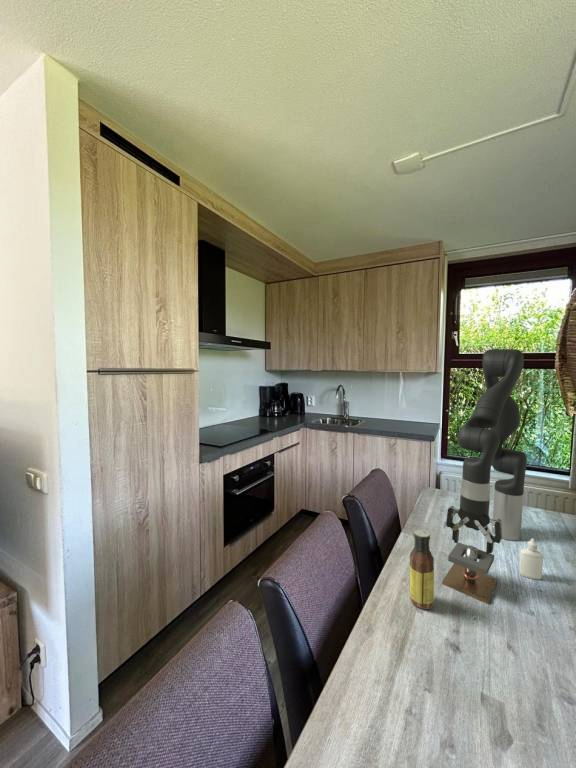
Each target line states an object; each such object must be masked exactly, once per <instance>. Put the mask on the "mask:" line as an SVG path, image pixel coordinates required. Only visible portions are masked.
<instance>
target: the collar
mask: <svg viewBox="0 0 576 768" xmlns="http://www.w3.org/2000/svg"><path fill="white" fill-rule="evenodd" d="M466 546H468V544H467V545H466V544H464V543H461V542H459V541H458V543H455V545H454V547H453V549H452V550H451V551H450V553H449V554H448V556H447V561H448V562H450V563H452V564H454V563H455V564H457V565H460V566H462V567H465V568H467V569H470V570H472V571H475V572H478V573H480V574H483V575H485V576H488V573H489V571H491V570H490V569H491V567H492V565H493V563H494V561H495V554H492V553H490V554H489V555H488V554H486V551H484V550H481V549H479V548H477V549H478V551H477V561H474V560H471V559H469V558H466V556H465V555H466Z"/></svg>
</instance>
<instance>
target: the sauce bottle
mask: <svg viewBox="0 0 576 768" xmlns="http://www.w3.org/2000/svg"><path fill="white" fill-rule="evenodd" d="M413 537H414V538H413V539H414V543H413V544H414V546H413V549H412V550H411V551H410V553H409V599H410V601H411V603H412V604H413V605H414V606H415V607H417V608H419V609H421V610H429V609H432V608H433V606H434V600H435V568H434V563H435V562H434V561H435V560H434V556H433V554H432V552H431V550H430V540H431V535H430V532H429V531H428V530H427V531H426V530H424V529H415V530H414V531H413Z"/></svg>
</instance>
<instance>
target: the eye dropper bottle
mask: <svg viewBox="0 0 576 768" xmlns="http://www.w3.org/2000/svg"><path fill="white" fill-rule="evenodd" d="M519 553H520V554H519V564H518V565H519V567H518V572H519V574H520V575H521V576H522V577H525V578H527V579H531V580H535V581H536V580H542V578H543V564H544V555H543V554H542V553H541V551H538V544H537V542H535V539H534V538H532V537H531V539H530V540H529V541H527V544H526V548H521V549H520V552H519Z"/></svg>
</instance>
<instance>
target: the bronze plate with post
mask: <svg viewBox="0 0 576 768" xmlns="http://www.w3.org/2000/svg"><path fill="white" fill-rule="evenodd" d="M478 549H479V548H477V547H476V546H474V545H468V544H467V546H466V554H465V557H466V558H469V559H471V560H474V561H477V562H478V559H477V551H478ZM497 583H498V579H496V578H494V577H491V576H489V575H487V576H485V575H483V574H480V573H478V572H475V571H472V570H470V569H467V568H465V567H462V566H460V565H457V564H455V563H452V565H451V567H450V569H449V570H448V571H447V573H446V575H445V576H444V577H443V579H442V582H441V585H443V586H446V587H448V588H450V589H452V590H455V591H458V592H459V593H462V594H464V595H466V596H469V597H471V598H474V599H475V600H477V601H480V602H481V603H485V604H487V605H489V604H490V601H491V599H492V596H493V594H494V591H495V589H496V586H497Z"/></svg>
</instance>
